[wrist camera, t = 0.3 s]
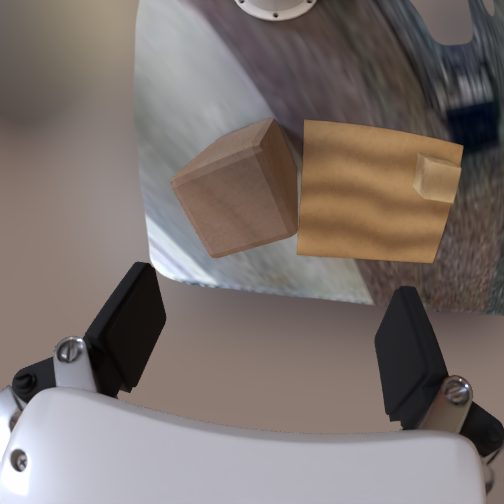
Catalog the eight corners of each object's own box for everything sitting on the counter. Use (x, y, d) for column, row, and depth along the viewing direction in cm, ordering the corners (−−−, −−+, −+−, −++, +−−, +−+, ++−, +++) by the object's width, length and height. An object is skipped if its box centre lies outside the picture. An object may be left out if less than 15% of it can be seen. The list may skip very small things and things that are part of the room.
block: (275, 114, 39) (260, 139, 22) (299, 173, 43) (301, 238, 27) (215, 138, 42) (163, 181, 26) (241, 192, 47) (210, 264, 30)
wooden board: (304, 119, 39) (304, 119, 38) (463, 145, 35) (463, 145, 35) (296, 254, 52) (296, 254, 52) (432, 262, 48) (432, 263, 48)
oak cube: (418, 152, 38) (430, 161, 34) (447, 159, 37) (461, 168, 33) (412, 186, 41) (423, 198, 37) (440, 191, 40) (453, 203, 36)
